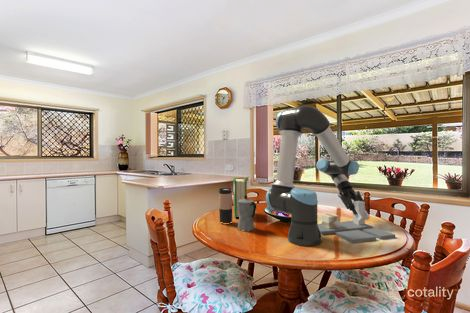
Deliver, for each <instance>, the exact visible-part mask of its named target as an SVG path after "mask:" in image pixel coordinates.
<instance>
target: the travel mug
mask: <svg viewBox="0 0 470 313" xmlns="http://www.w3.org/2000/svg"><path fill="white" fill-rule="evenodd" d="M218 195H219V196H218V198H219V199H218V204H219V206H218V208H219V209H218V210H219V223H220V222H223V223H230V222H232V223H233V189H232V188H229V187H224V188H223V187H222V188H219V190H218Z"/></svg>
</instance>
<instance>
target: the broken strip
mask: <svg viewBox="0 0 470 313" xmlns="http://www.w3.org/2000/svg"><path fill="white" fill-rule="evenodd" d="M335 236H336V237H338V238H340V239H343V240H345V241H346V242H349V243H351V244H355V243H356V244H357V243H363V242H364V243H365V242H372V241H373V242H374V241H377V239H378V240H389V239H394V238H395V239H396V234H394V233H392V232H390V231H386V230H383V229H380V228H378V227H373V228H371V229H363V230H353V231H344V232H336V233H335Z"/></svg>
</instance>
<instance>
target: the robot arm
mask: <svg viewBox="0 0 470 313" xmlns="http://www.w3.org/2000/svg"><path fill="white" fill-rule="evenodd" d="M330 125H331V123H330V121H329V119H328V118H327V117H326V115H325V114H324V113H323V112H322V111H320V110H319V109H318V108H316V107H314V106H311V105H304V104H303V105H301V106H296V107H295V106H294V107H291V108H290V107H289V108H285V109H283V110H281V111H280V112H279V113H277V116H276V119H275V126H276V129H277V130H278V133H279V135H280V145H279V152H278V160H277V167H276V175H275V180H274V182H273V183H271V187H270V188H269V189H268V190H267V192H266V194H265V203H266V205H267V206H268V208H269V209H270V210H272V211H274V212H276V213H282V214H286V215H290V216H291V217H290V218H291V220H290V222H291V223H290V226H289V229H288V233H287V241H288V242H290V243H292V244H294V245H297V246H306V247H309V246H311V247H313V246H318V245H320V244H322V241H323V236H322V234H321V233H320V230H319V227H318V224H319V223H318V203H319V202H318V201H319V200H318V195H317V193H316V192H315V191H314V190H312V189H309V188H302V187H296V186H295V185H294V176H295V166H296V160H297V159H296V158H297V152H298V151H297V150H298V144H299V143H298V142H299V138H300V137H301V136H302V135H303V130H308V131H310V133H311V134H313V135H315V136H316V137H317V139H318V140H319V141H320V143H321V145H322V146H323V148H324V149H325V151H326V152H327V154H328V155H329V157H330V158H331V159H332V160H328V159H326V158H320V159H318V161H317V162H316V165H315V166H316V167H315V168H316V169H317V170H318V171H320V172H321V173H323V174H325V175H327V176H329V177H330V178H331V180H332V181H333V183H334V184H335V187H336V188H337V190H338V192H339V193H338V194H337V196H338V197H339V199H340V200H341V202H342V203H343V205H344V206H345V208H346V209H347V210H349V211H351V212H352V214H354V215H356V217H357V219H358V220H359V221H360V220H361V219H362V216H361V214H360V213H359V211H358V210H357V208H356V207H355V208H354V205H353V201H363V202H365V207H367V203H366V201H365V200H364V198H363V197H362V195H361V193H360V191H359V190H358V191H356V190H354V188H353V185H352V184H351V182H350V181H349V179H348V177H347V176H346V175H348V176H350V175H357V174H358V173H359V169H360V166H359V163H358V161H356V160H351V158H350V157H349V156H348V154H347V153H346V151H345V149H344V147H343V146H342V145H341V143H340V141H339V139H338V138H337V137H336V134H335V133H334V132H333V130H332V128H331V127H330ZM370 218H371V216H370V215H369V212H368V210H367V209H366V208H365V221H367V220H369V219H370Z"/></svg>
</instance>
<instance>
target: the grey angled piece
mask: <svg viewBox="0 0 470 313" xmlns="http://www.w3.org/2000/svg"><path fill="white" fill-rule="evenodd" d="M352 202H353V205H354V208H355V207H356V208H357V210H358V211H359V213H360V214H361V216H362V219H361V220H360V221H359V220H358V219H357V217H356V215H354V214H353V213H352V214H353V217H352V218H353V219H352V220H346V221H345V220H344V221H339V228H332V229H328V228H326V227H324V226H322V223H318V227H319V230H320V233H321V236H322V235H332V234H336V232H344V231H353V230H360V231H363V229H371V228H374V227H373V226H372V225H370V224H367V223H366V219H365V209H366V206H365V203H366V201H365V202H363V201H354V200H352Z"/></svg>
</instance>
